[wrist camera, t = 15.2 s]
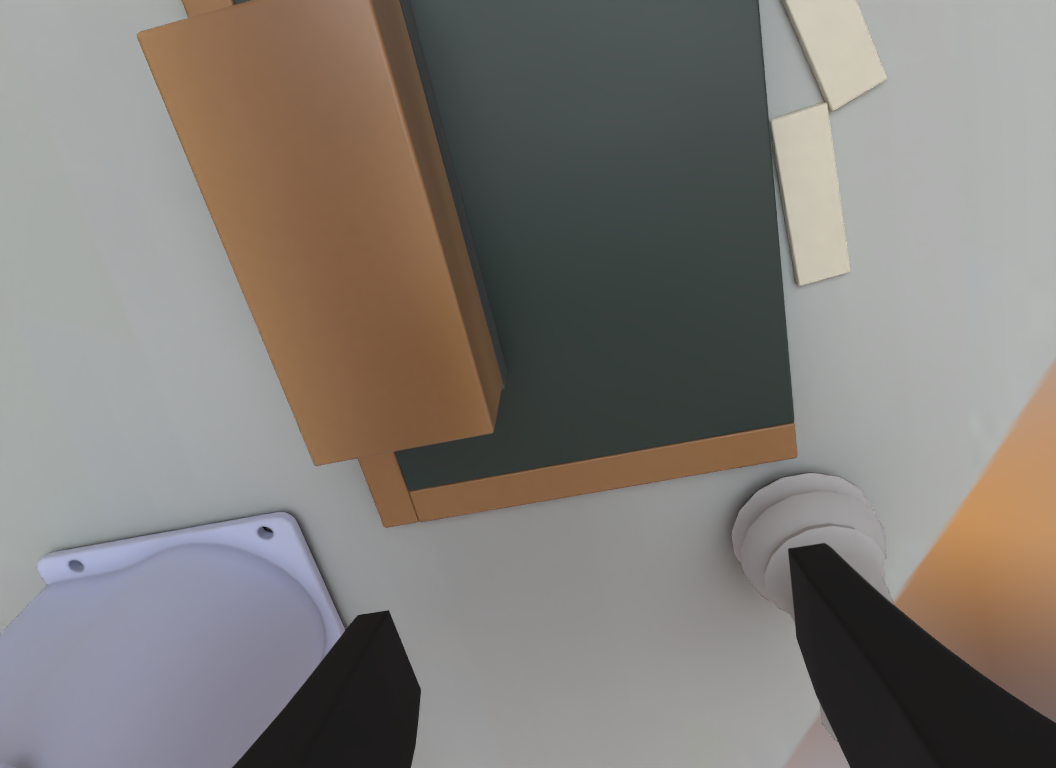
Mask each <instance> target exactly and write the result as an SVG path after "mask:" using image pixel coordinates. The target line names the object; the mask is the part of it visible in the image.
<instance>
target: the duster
mask: <svg viewBox="0 0 1056 768" xmlns="http://www.w3.org/2000/svg"><path fill="white" fill-rule="evenodd" d="M137 38H138V41H139V43H140V46H141V48H142V50H143V53H144V55H145V58H146V60H147V62H148V65H149V67H150V70H151V72H152V74H153V77H154V79H155V82H156V84H157V87H158V89H159V91H160V94H161V96H162V99H163V101H164V103H165V106H166V108H167V111H168V113H169V115H170V118H171V120H172V123H173V125H174V128H175V130H176V132H177V135H178V137H179V140H180V142H181V144H182V147H183V149H184V152H185V154H186V156H187V159H188V161H189V164H190V166H191V169H192V171H193V173H194V176H195V178H196V181H197V183H198V185H199V188H200V190H201V193H202V195H203V198H204V200H205V202H206V205H207V207H208V210H209V212H210V214H211V217H212V219H213V222H214V224H215V226H216V229H217V231H218V234H219V236H220V239H221V241H222V243H223V246H224V248H225V251H226V253H227V255H228V258H229V260H230V263H231V265H232V267H233V270H234V272H235V275H236V277H237V280H238V282H239V284H240V287H241V289H242V292H243V294H244V296H245V299H246V301H247V304H248V306H249V308H250V311H251V313H252V316H253V318H254V321H255V323H256V325H257V328H258V330H259V333H260V335H261V337H262V340H263V342H264V345H265V347H266V349H267V352H268V354H269V357H270V359H271V362H272V364H273V366H274V369H275V371H276V374H277V376H278V378H279V381H280V383H281V386H282V388H283V390H284V393H285V395H286V398H287V400H288V403H289V405H290V407H291V410H292V412H293V415H294V417H295V419H296V422H297V424H298V427H299V429H300V431H301V434H302V436H303V439H304V441H305V444H306V446H307V448H308V451H309V453H310V456H311V458H312V460H313V463H314V465H315V466H319V465H324V464H329V463H335V462H340V461H345V460H351V459H356V458H362V457H367V456H372V455H378V454H383V453H389V452H394V451H399V450H405V449H410V448H415V447H421V446H426V445H432V444H437V443H442V442H448V441H453V440H459V439H464V438H469V437H475V436H480V435H485V434H491V433H493V432H494V428H495V423H496V417H497V411H498V406H499V400H500V395H501V390H503V389H504V388H505V382H506V376H507V367H506V364H505V360H504V356H503V352H502V348H501V345H500V341H499V337H498V333H497V330H496V326H495V322H494V318H493V315H492V311H491V307H490V303H489V300H488V296H487V292H486V288H485V285H484V281H483V277H482V273H481V269H480V266H479V262H478V258H477V254H476V251H475V247H474V243H473V239H472V236H471V232H470V228H469V224H468V221H467V217H466V213H465V209H464V205H463V202H462V198H461V194H460V190H459V187H458V183H457V179H456V175H455V172H454V168H453V164H452V160H451V157H450V153H449V149H448V145H447V141H446V138H445V134H444V130H443V126H442V123H441V119H440V115H439V111H438V108H437V104H436V100H435V96H434V93H433V89H432V85H431V81H430V78H429V74H428V70H427V66H426V62H425V59H424V55H423V51H422V47H421V44H420V40H419V36H418V32H417V29H416V25H415V21H414V17H413V14H412V10H411V6H410V2H409V0H250V1H247V2H243V3H240V4H236V5H233V6H229V7H226V8H222V9H219V10H215V11H211V12H208V13H204V14H201V15H197V16H194V17H190V18H187V19H183V20H180V21H176V22H173V23H169V24H166V25H162V26H159V27H155V28H151V29H148V30H144V31H141V32H139V33H138V34H137Z"/></svg>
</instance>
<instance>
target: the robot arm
mask: <svg viewBox="0 0 1056 768" xmlns="http://www.w3.org/2000/svg"><path fill="white" fill-rule="evenodd" d="M263 527H268V528H270V529H271V530H272V531H273V532H268V531H266V530H264V529H263ZM788 555H789V565H790V575H791V585H792V596H793V606H794V616H795V626H796V636H797V640H798V643H799V646H800V649H801V652H802V655H803V658H804V661H805V664H806V667H807V670H808V673H809V676H810V678H811V681H812V684H813V687H814V690H815V693H816V695H817V698H818V700H819V702H820V704H821V706H822V708H823V711H824V713H825V715H826V717H827V719H828V721H829V723H830V725H831V728H832V730H833V732H834V734H835V736H836V738H837V740H838V742H839V744H840V747H841V749H842V751H843V753H844V755H845V757H846V759H847V761H848V763H849V765H850V768H1056V723H1055V722H1053V721H1052V720H1050V719H1048V718H1047V717H1045V716H1043V715H1042V714H1040V713H1039V712H1037V711H1036V710H1034V709H1033V708H1031V707H1029V706H1028V705H1026V704H1025V703H1024V702H1022V701H1020V700H1019V699H1017V698H1016V697H1014V696H1012V695H1011V694H1010V693H1008V692H1007V691H1005V690H1004V689H1002V688H1001V687H999V686H998V685H996V684H995V683H994V682H992V681H991V680H989V679H988V678H987V677H985V676H984V675H983V674H981V673H980V672H978V671H977V670H975V669H974V668H973V667H971V666H970V665H969V664H967V663H966V662H965V661H963V660H962V659H961V658H959V657H958V656H957V655H955V654H954V653H953V652H951V651H950V650H949V649H947V648H946V647H945V646H943V645H942V644H941V643H940V642H938V641H937V640H936V639H935V638H933V637H932V636H931V635H930V634H928V633H927V632H926V631H924V630H923V629H922V628H921V627H920V626H918V625H917V624H916V623H915V622H914V621H913V620H911V619H910V618H909V617H908V616H907V615H905V614H904V613H903V612H902V611H900V610H899V609H898V608H897V607H896V606H895V605H893V604H892V603H891V602H890V601H889V600H888V599H886V598H885V597H884V596H883V595H882V594H881V593H880V592H879V591H877V590H876V589H875V588H874V587H873V586H872V585H871V584H870V583H869V582H867V581H866V580H865V579H864V578H863V577H862V576H861V575H860V574H859V573H858V572H857V571H856V570H854V569H853V568H852V567H851V566H850V565H849V564H848V563H847V562H846V561H845V560H844V559H843V558H842V557H841V556H840V555H839V554H838V553H837V552H836V551H835V550H834V549H833V548H832V547H830V546H829V545H827V544H826V543H820V544H814V545H808V546H801V547H795V548H788ZM78 561H79V562H81V563H82V564H81V563H79V562H78ZM37 570H38V572H39V574H40V576H41V577H42V579H43V580H44V582H45V583H46V585H47V586H46V588H45V589H44V590H43V591H42V592H41V593H40V594H39V595H38V596H37V597H36V598H35V599H34V600H33V601H32V602H31V603H30V604H29V605H28V606H27V607H26V608H25V609H24V610H23V611H22V612H21V613H20V614H19V615H18V616H17V617H16V618H15V619H14V620H13V621H12V622H11V623H10V624H9V625H8V626H7V627H6V628H5V629H4V630H3V631H2V632H1V633H0V768H411V764H412V759H413V755H414V750H415V744H416V735H417V727H418V717H419V706H420V695H421V689H420V686H419V684H418V681H417V679H416V676H415V674H414V672H413V669H412V667H411V664H410V662H409V659H408V657H407V654H406V652H405V649H404V647H403V644H402V642H401V639H400V637H399V634H398V632H397V630H396V627H395V625H394V622H393V620H392V617H391V615H390V612H389V610H388V611H382V612H375V613H369V614H362V615H358V616H357V617H356V618H355V619H354V620H353V622H352V623H351V624H350V625H349V627H348V628H347V629H346V630H345V628H344V626H343V624H342V622H341V619H340V617H339V615H338V613H337V610H336V608H335V606H334V604H333V601H332V599H331V597H330V595H329V592H328V590H327V588H326V586H325V583H324V581H323V579H322V577H321V574H320V572H319V570H318V568H317V565H316V563H315V561H314V559H313V556H312V554H311V552H310V550H309V547H308V545H307V543H306V541H305V538H304V536H303V534H302V532H301V529H300V527H299V525H298V523H297V521H296V519H295V518H294V517H293V516H291V515H290V514H288V513H285V512H275V513H269V514H264V515H258V516H252V517H247V518H241V519H236V520H230V521H224V522H219V523H213V524H208V525H202V526H196V527H191V528H185V529H180V530H174V531H168V532H163V533H157V534H152V535H146V536H140V537H135V538H129V539H124V540H118V541H112V542H107V543H101V544H96V545H90V546H84V547H79V548H73V549H68V550H62V551H56V552H51V553H48V554H45V555H44V556H43V557H42V558H41V559H40V560H39V561H38V563H37Z"/></svg>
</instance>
